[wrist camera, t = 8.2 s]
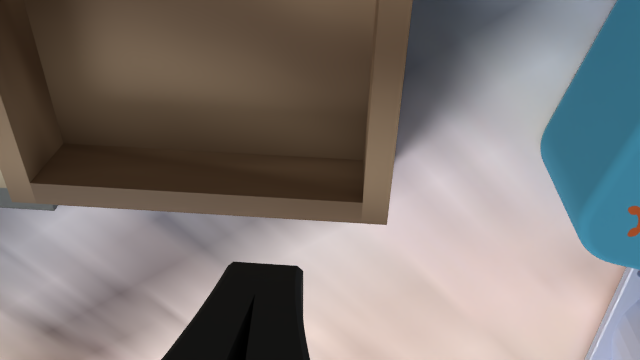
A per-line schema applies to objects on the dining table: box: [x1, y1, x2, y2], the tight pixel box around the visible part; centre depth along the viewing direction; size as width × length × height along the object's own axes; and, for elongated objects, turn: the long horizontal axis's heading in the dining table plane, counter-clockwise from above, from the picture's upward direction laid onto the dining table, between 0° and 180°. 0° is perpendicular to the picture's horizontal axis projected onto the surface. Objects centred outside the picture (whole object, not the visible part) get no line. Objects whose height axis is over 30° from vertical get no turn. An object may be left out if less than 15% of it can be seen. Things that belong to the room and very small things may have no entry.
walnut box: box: [0, 0, 413, 225], centre depth 16 cm, size 11×12×3 cm
